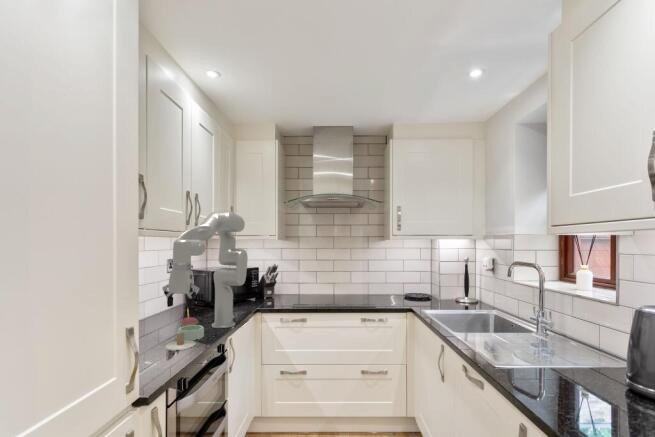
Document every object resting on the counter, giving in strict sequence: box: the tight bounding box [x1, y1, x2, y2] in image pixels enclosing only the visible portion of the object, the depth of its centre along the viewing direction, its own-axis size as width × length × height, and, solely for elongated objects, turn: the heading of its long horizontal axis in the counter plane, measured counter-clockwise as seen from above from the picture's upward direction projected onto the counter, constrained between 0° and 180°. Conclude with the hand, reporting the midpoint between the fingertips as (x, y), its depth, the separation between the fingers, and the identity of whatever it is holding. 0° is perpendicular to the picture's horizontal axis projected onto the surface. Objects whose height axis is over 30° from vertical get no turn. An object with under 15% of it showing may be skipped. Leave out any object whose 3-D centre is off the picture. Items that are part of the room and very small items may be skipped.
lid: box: [165, 333, 196, 352], centre depth 158 cm, size 12×12×5 cm
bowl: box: [177, 324, 205, 341], centre depth 172 cm, size 11×11×5 cm
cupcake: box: [180, 306, 199, 327], centre depth 186 cm, size 9×8×12 cm
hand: (180, 306), depth 157 cm, fingers open, 9 cm apart
